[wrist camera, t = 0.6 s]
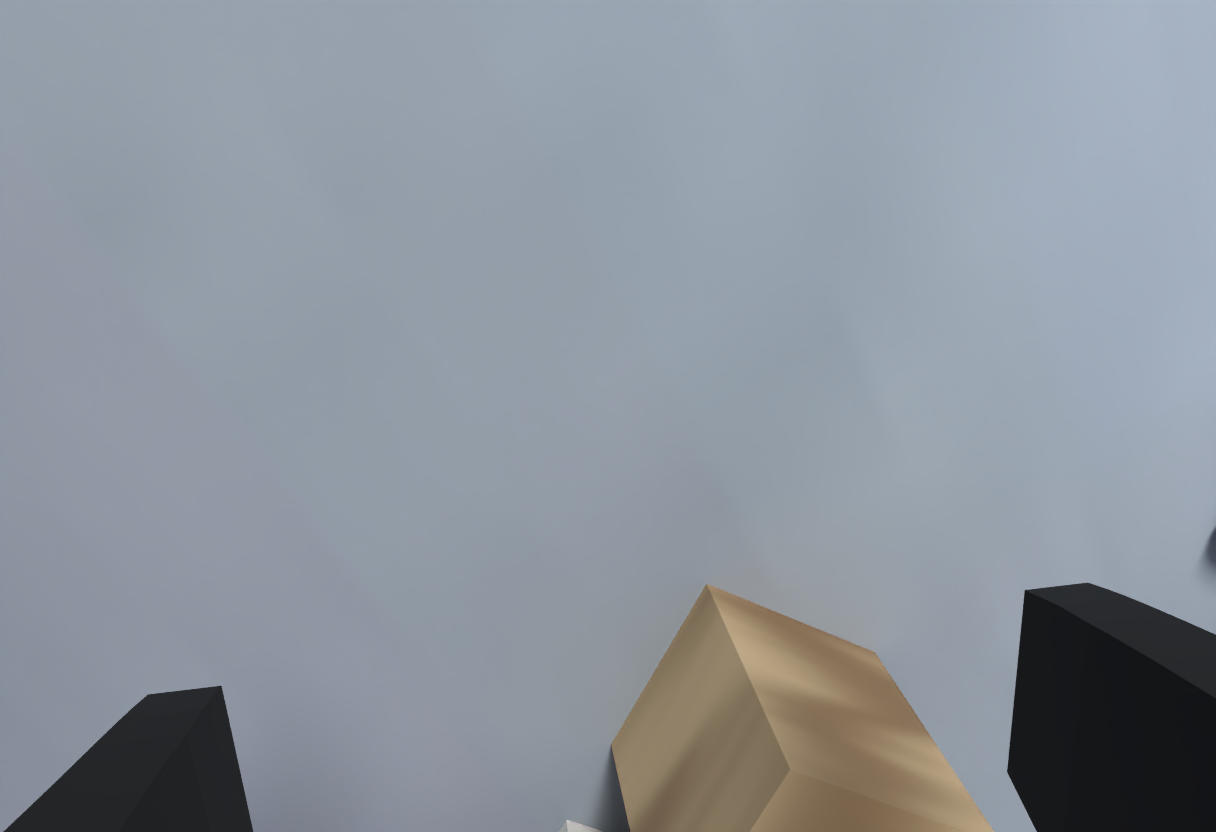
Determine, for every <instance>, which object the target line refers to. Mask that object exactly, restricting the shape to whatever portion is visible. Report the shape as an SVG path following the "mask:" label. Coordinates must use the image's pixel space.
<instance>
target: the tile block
mask: <svg viewBox="0 0 1216 832" xmlns="http://www.w3.org/2000/svg"><path fill="white" fill-rule="evenodd" d="M559 832H603V831H600V830H597V829H594V828H591V827H588V826H585V825H581V824H578V823H575V822H572V821H569V820H566V821H565V823H564V824H563V826H562V828H561V829H560V831H559Z"/></svg>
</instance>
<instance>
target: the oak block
mask: <svg viewBox="0 0 1216 832" xmlns="http://www.w3.org/2000/svg"><path fill="white" fill-rule="evenodd" d="M611 746H612V751H613V755H614V760H615V764H616V769H617V773H618V778H619V782H620V787H621V791H622V796H623V800H624V805H625V810H626V814H627V819H628V823H629V828H630V832H994V831H993V829H992V828H991V826H990V825H989V823H988V822H987V820H986V819H985V817H984V816H983V814H982V813H981V811H980V810H979V808H978V807H977V805H976V804H975V802H974V801H973V799H972V798H971V796H970V795H969V793H968V792H967V790H966V789H965V787H964V786H963V784H962V783H961V781H960V780H959V778H958V777H957V775H956V774H955V772H954V771H953V769H952V768H951V766H950V765H949V763H948V762H947V760H946V759H945V757H944V756H943V754H942V753H941V751H940V750H939V748H938V747H937V745H936V744H935V742H934V741H933V739H932V738H931V736H930V735H929V733H928V732H927V730H926V729H925V727H924V726H923V724H922V723H921V721H920V720H919V718H918V717H917V715H916V714H915V712H914V710H913V709H912V707H911V706H910V704H909V703H908V701H907V700H906V698H905V697H904V695H903V694H902V692H901V691H900V689H899V688H898V686H897V685H896V683H895V682H894V680H893V679H892V677H891V676H890V674H889V673H888V671H887V670H886V668H885V667H884V665H883V664H882V662H881V661H880V659H879V658H878V656H877V655H876V653H875V652H873V651H870V650H868V649H865V648H863V647H860V646H858V645H855V644H853V643H851V642H848V641H846V640H843V639H841V638H838V637H836V636H833V635H831V634H828V633H826V632H824V631H821V630H819V629H816V628H814V627H811V626H809V625H806V624H804V623H802V622H799V621H797V620H794V619H792V618H789V617H787V616H784V615H782V614H779V613H777V612H775V611H772V610H770V609H767V608H765V607H762V606H760V605H757V604H755V603H752V602H750V601H748V600H745V599H743V598H740V597H738V596H735V595H733V594H730V593H728V592H726V591H723V590H721V589H718V588H716V587H713V586H711V585H708V584H706V586H705V588H704V589H703V591H702V593H701V594H700V596H699V598H698V599H697V601H696V603H695V604H694V606H693V608H692V609H691V611H690V613H689V615H688V616H687V618H686V620H685V621H684V623H683V625H682V626H681V628H680V630H679V631H678V633H677V635H676V636H675V638H674V640H673V641H672V643H671V645H670V646H669V648H668V650H667V651H666V653H665V655H664V657H663V658H662V660H661V662H660V663H659V665H658V667H657V668H656V670H655V672H654V673H653V675H652V677H651V678H650V680H649V682H648V683H647V685H646V687H645V688H644V690H643V692H642V694H641V695H640V697H639V699H638V700H637V702H636V704H635V705H634V707H633V709H632V710H631V712H630V714H629V715H628V717H627V719H626V720H625V722H624V724H623V725H622V727H621V729H620V731H619V732H618V734H617V736H616V737H615V739H614V741H613V742H612V744H611Z"/></svg>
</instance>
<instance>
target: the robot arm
mask: <svg viewBox="0 0 1216 832" xmlns="http://www.w3.org/2000/svg"><path fill="white" fill-rule="evenodd" d="M1007 772H1008V775H1009V777H1010V779H1011V781H1012V783H1013V785H1014V787H1015V789H1016V791H1017V793H1018V795H1019V797H1020V799H1021V801H1022V803H1023V805H1024V807H1025V809H1026V811H1027V813H1028V815H1029V817H1030V819H1031V821H1032V823H1033V825H1034V827H1035V829H1036V831H1037V832H1216V635H1215V634H1213V633H1210V632H1208V631H1206V630H1204V629H1201V628H1199V627H1197V626H1195V625H1192V624H1190V623H1188V622H1186V621H1183V620H1181V619H1179V618H1177V617H1174V616H1172V615H1170V614H1167V613H1165V612H1163V611H1160V610H1158V609H1156V608H1153V607H1151V606H1148V605H1146V604H1144V603H1141V602H1139V601H1136V600H1134V599H1131V598H1129V597H1127V596H1124V595H1121V594H1119V593H1116V592H1113V591H1111V590H1108V589H1105V588H1102V587H1099V586H1096V585H1093V584H1090V583H1081V584H1073V585H1064V586H1056V587H1048V588H1039V589H1031V590H1025V594H1024V604H1023V615H1022V625H1021V635H1020V646H1019V656H1018V666H1017V677H1016V687H1015V697H1014V708H1013V718H1012V728H1011V738H1010V749H1009V759H1008V769H1007ZM4 832H253V829H252V824H251V820H250V815H249V810H248V806H247V801H246V797H245V792H244V787H243V783H242V778H241V774H240V769H239V764H238V760H237V755H236V751H235V746H234V741H233V737H232V732H231V728H230V723H229V718H228V714H227V709H226V705H225V700H224V695H223V691H222V686H216V687H208V688H199V689H191V690H182V691H174V692H166V693H157V694H149V695H147V696H146V697H145V698H144V699H142V700H141V701H140V702H139V703H138V704H137V705H136V706H134V707H133V708H132V709H131V710H130V711H129V712H128V713H127V714H126V715H125V716H123V717H122V718H121V719H120V720H119V721H118V722H117V723H116V724H115V725H114V726H113V727H112V728H111V729H110V730H109V731H108V732H107V733H106V734H105V735H104V736H103V737H101V738H100V739H99V740H98V741H97V742H96V743H95V744H94V745H93V746H92V747H91V748H90V749H89V750H88V751H87V752H86V753H85V754H84V755H83V756H82V757H81V758H80V759H79V760H78V761H77V762H76V763H75V764H74V765H73V766H72V767H71V768H70V769H69V770H68V771H67V772H66V773H64V774H63V775H62V776H61V777H60V778H59V779H58V780H57V781H56V782H55V783H54V784H53V785H52V786H51V787H50V788H49V789H48V790H47V791H46V792H45V793H44V794H43V795H42V796H41V797H40V798H39V799H37V800H36V801H35V802H34V803H33V804H32V805H31V806H30V807H29V808H28V809H27V810H26V811H25V812H24V813H23V814H22V815H21V816H20V817H19V818H17V819H16V820H15V821H14V822H13V823H12V824H11V825H10V826H9V827H8V828H7V829H6V830H5V831H4Z"/></svg>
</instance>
